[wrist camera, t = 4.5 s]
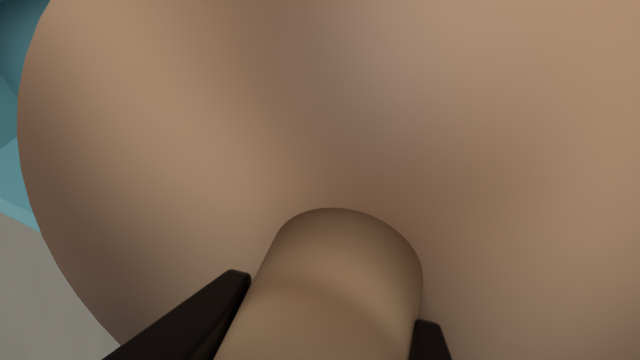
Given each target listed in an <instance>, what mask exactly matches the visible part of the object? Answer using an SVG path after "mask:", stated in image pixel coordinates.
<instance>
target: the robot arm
mask: <svg viewBox="0 0 640 360" xmlns="http://www.w3.org/2000/svg"><path fill="white" fill-rule="evenodd" d="M251 284H252V278H251V275H250V274H249V273H247V272H243V271H239V270H235V269H229V270H227V271H225V272H224V273H222V274H221V275H220V276H218V277H217V278H215V279H214V280H213V281H211V282H210V283H208V284H207V285H206V286H204V287H203V288H201V289H200V290H199V291H197V292H196V293H194V294H193V295H192V296H190V297H189V298H187V299H186V300H185V301H183V302H182V303H180V304H179V305H178V306H176V307H175V308H173V309H172V310H171V311H169V312H168V313H166V314H165V315H164V316H162V317H161V318H159V319H158V320H157V321H155V322H154V323H152V324H151V325H150V326H148V327H147V328H145V329H144V330H143V331H141V332H140V333H138V334H137V335H136V336H134V337H133V338H131V339H130V340H129V341H127V342H126V343H124V344H123V345H122V346H120V347H119V348H117V349H116V350H115V351H113V352H112V353H110V354H109V355H108V356H106V357H105V358H103V359H102V360H214V358H215V356H216V354H217V352H218V350H219V348H220V346H221V344H222V342H223V340H224V338H225V336H226V334H227V332H228V330H229V328H230V326H231V324H232V322H233V320H234V318H235V316H236V314H237V312H238V310H239V308H240V306H241V304H242V302H243V300H244V298H245V296H246V294H247V292H248V290H249V288H250V286H251ZM409 360H453V359H452V356H451V353H450V351H449V348H448V345H447V342H446V340H445V337H444V334H443V331H442V329H441V326H440V325H439V324H438V323H436V322H432V321H428V320H424V319H417V320H416V321H415V327H414V334H413V340H412V347H411V353H410V359H409Z"/></svg>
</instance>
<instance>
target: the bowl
mask: <svg viewBox="0 0 640 360" xmlns="http://www.w3.org/2000/svg"><path fill="white" fill-rule="evenodd" d="M49 2H50V0H0V212H1V213H3V214H5V215H7V216H9V217H11V218H13V219H15V220H17V221H19V222H21V223H23V224H25V225H27V226H29V227H31V228H33V229H35V230H37V231H39V232H41V231H40V229H39V226H38V224H37V221H36V219H35V216H34V214H33V211H32V208H31V206H30V203H29V199H28V195H27V191H26V187H25V184H24V180H23V176H22V172H21V166H20V158H19V149H18V141H17V103H18V92H19V86H20V81H21V76H22V71H23V66H24V60H25V56H26V54H27V51H28V48H29V46H30V43H31V40H32V38H33V35H34V32H35V30H36V27H37V24H38V22H39V19H40V17H41V16H42V14H43V12H44V11H45V9H46V7H47V5H48V4H49Z"/></svg>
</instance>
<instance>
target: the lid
mask: <svg viewBox="0 0 640 360" xmlns="http://www.w3.org/2000/svg"><path fill="white" fill-rule="evenodd" d="M17 141H18V149H19V158H20V166H21V172H22V176H23V180H24V184H25V187H26V191H27V195H28V199H29V203H30V206H31V208H32V211H33V214H34V216H35V219H36V221H37V224H38V226H39V229H40V231H41V234H42V237H43V238H44V240H45V242H46V244H47V246H48V248H49V250H50V252H51V254H52V256H53V258H54V259H55V261H56V263H57V265H58V267H59V269H60V270H61V272H62V273H63V275H64V276H65V278H66V279H67V281H68V282H69V284H70V285H71V287H72V288H73V290H74V291H75V293H76V294H77V296H78V297H79V298H80V299H81V301H82V302H83V303H84V304H85V306H86V307H87V308H88V309H89V311H90V312H91V313H92V314H93V316H94V317H95V318H96V319H97V321H98V322H99V323H100V324H101V325H102V326H103V327H104V328H105V329H106V330H107V331H108V332H109V333H110V334H111V335H112V337H113V338H114V339H115V340H116V341H117V342H118V343H119V344H120V345H121V346H122V345H123V344H124V343H126V342H127V341H129V340H130V339H131V338H133V337H134V336H136V335H137V334H138V333H140V332H141V331H143V330H144V329H145V328H147V327H148V326H150V325H151V324H152V323H154V322H155V321H157V320H158V319H159V318H161V317H162V316H164V315H165V314H166V313H168V312H169V311H171V310H172V309H173V308H175V307H176V306H178V305H179V304H180V303H182V302H183V301H185V300H186V299H187V298H189V297H190V296H192V295H193V294H194V293H196V292H197V291H199V290H200V289H201V288H203V287H204V286H206V285H207V284H208V283H210V282H211V281H213V280H214V279H215V278H217V277H218V276H220V275H221V274H222V273H224V272H225V271H227V270H229V269H235V270H239V271H243V272H247V273H249V274H250V275H251V278H252V284H251V286H250V288H249V290H248V292H247V294H246V296H245V298H244V300H243V302H242V304H241V306H240V308H239V310H238V312H237V314H236V316H235V318H234V320H233V322H232V324H231V326H230V328H229V330H228V332H227V334H226V336H225V338H224V340H223V342H222V344H221V346H220V348H219V350H218V352H217V354H216V356H215V358H214V360H409V359H410V353H411V347H412V340H413V334H414V327H415V321H416V320H417V319H424V320H428V321H432V322H436V323H438V324H439V325H440V326H441V329H442V331H443V334H444V337H445V340H446V342H447V345H448V348H449V351H450V353H451V356H452V359H453V360H640V0H50V2H49V4H48V5H47V7H46V9H45V11H44V12H43V14H42V16H41V17H40V19H39V22H38V24H37V27H36V30H35V32H34V35H33V38H32V40H31V43H30V46H29V48H28V51H27V54H26V56H25V60H24V66H23V71H22V76H21V81H20V86H19V92H18V103H17Z"/></svg>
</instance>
